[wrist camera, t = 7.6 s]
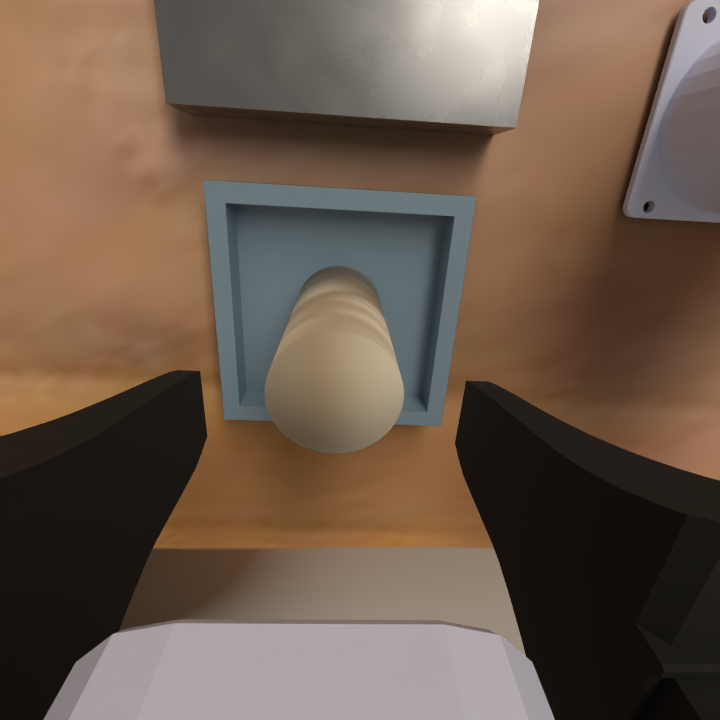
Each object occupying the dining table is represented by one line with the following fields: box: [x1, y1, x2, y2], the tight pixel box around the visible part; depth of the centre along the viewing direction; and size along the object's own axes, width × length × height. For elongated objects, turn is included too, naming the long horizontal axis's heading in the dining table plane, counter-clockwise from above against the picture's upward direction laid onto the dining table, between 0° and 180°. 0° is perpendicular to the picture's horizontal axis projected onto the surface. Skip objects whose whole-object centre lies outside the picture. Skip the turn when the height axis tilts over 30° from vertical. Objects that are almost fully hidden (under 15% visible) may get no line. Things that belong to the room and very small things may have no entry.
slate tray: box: [203, 180, 477, 426], centre depth 20 cm, size 11×11×2 cm
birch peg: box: [265, 266, 404, 454], centre depth 16 cm, size 4×4×9 cm
